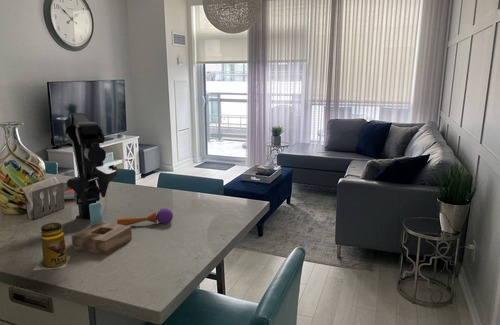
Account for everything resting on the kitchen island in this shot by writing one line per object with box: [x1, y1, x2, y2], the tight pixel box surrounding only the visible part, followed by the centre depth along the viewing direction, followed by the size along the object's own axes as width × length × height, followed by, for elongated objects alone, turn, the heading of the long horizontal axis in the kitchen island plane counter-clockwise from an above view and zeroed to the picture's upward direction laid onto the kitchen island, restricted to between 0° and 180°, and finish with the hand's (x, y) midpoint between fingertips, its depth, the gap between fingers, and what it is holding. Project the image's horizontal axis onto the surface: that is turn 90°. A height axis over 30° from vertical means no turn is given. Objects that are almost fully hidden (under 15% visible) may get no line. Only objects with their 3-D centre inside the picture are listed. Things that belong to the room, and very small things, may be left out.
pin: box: [89, 202, 104, 226], centre depth 138 cm, size 4×4×9 cm
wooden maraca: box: [116, 207, 174, 226], centre depth 142 cm, size 6×6×20 cm
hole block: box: [71, 221, 133, 255], centre depth 125 cm, size 13×13×4 cm
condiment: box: [32, 222, 71, 271], centre depth 110 cm, size 7×8×12 cm
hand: (94, 200), depth 137 cm, fingers open, 9 cm apart
